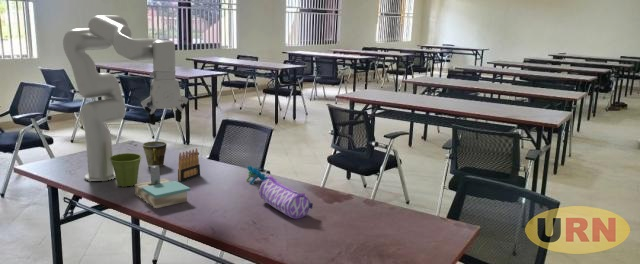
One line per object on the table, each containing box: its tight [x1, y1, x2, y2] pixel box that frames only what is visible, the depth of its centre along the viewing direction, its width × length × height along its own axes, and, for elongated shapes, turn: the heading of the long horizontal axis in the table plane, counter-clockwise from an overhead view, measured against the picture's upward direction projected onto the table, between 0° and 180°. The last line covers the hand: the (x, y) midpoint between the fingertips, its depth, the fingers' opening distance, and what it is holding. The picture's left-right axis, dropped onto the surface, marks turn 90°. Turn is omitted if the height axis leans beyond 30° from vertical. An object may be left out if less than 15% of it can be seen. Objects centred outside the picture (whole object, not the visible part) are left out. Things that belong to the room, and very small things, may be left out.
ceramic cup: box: [142, 140, 168, 168], centre depth 231 cm, size 13×10×10 cm
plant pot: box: [109, 152, 143, 188], centre depth 206 cm, size 12×12×11 cm
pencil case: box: [258, 175, 314, 220], centre depth 184 cm, size 22×9×10 cm, turn 38°
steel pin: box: [149, 165, 161, 185], centre depth 195 cm, size 3×3×10 cm
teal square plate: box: [142, 180, 191, 198], centre depth 189 cm, size 12×13×1 cm
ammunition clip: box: [177, 148, 201, 183], centre depth 216 cm, size 11×2×12 cm, turn 147°
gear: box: [246, 165, 268, 185], centre depth 212 cm, size 11×6×10 cm
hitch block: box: [134, 178, 188, 209], centre depth 193 cm, size 18×12×4 cm, turn 40°
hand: (165, 122), depth 191 cm, fingers open, 9 cm apart
